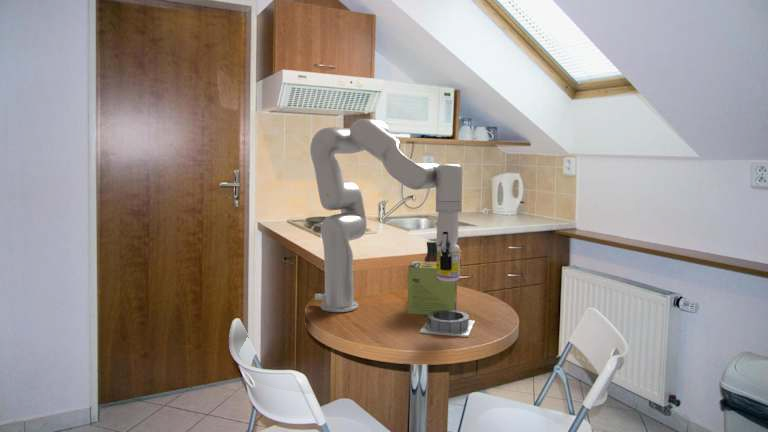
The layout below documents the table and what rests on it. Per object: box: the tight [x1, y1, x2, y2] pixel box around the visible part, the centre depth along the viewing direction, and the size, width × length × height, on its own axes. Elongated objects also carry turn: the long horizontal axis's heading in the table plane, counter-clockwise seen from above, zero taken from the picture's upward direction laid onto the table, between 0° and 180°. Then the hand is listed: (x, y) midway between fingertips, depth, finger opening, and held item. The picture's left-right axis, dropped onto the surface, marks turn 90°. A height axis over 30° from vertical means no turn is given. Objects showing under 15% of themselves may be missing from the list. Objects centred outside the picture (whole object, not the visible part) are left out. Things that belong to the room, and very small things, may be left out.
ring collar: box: [419, 309, 476, 338], centre depth 162 cm, size 14×14×4 cm
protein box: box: [407, 261, 458, 316], centre depth 179 cm, size 10×15×16 cm
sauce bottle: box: [424, 240, 438, 262], centre depth 199 cm, size 7×6×20 cm
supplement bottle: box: [437, 238, 461, 281], centre depth 160 cm, size 7×7×13 cm
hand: (448, 266), depth 161 cm, fingers closed on supplement bottle, 6 cm apart
